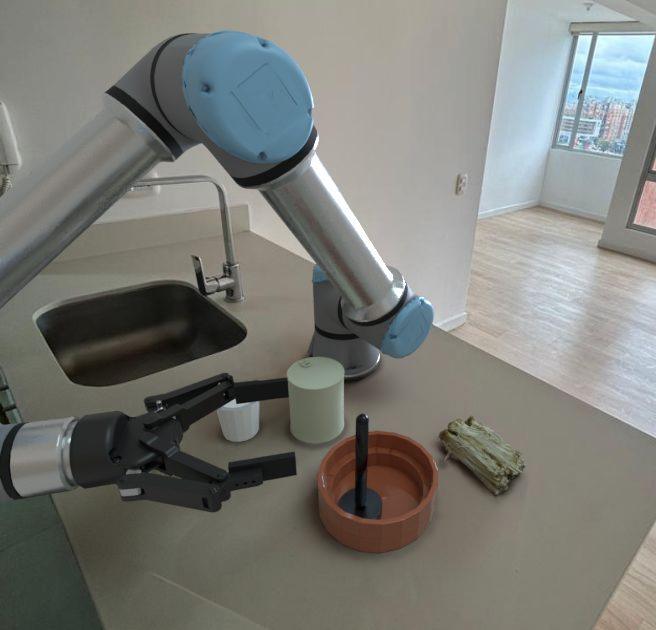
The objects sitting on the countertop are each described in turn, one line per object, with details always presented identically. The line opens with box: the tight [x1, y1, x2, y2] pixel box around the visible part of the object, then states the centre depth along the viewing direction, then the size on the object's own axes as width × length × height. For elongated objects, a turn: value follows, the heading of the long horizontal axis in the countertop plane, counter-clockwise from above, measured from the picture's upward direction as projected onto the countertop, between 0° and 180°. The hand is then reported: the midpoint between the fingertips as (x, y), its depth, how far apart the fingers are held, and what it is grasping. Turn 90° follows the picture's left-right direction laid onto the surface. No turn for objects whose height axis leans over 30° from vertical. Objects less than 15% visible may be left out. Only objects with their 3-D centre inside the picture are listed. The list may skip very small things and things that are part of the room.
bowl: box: [317, 430, 439, 554], centre depth 63 cm, size 16×16×6 cm
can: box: [286, 357, 345, 444], centre depth 74 cm, size 9×9×12 cm
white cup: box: [215, 394, 260, 443], centre depth 73 cm, size 7×7×7 cm
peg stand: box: [338, 413, 382, 520], centre depth 58 cm, size 6×6×17 cm
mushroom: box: [438, 415, 527, 497], centre depth 71 cm, size 14×10×5 cm, turn 42°
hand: (292, 421), depth 53 cm, fingers open, 13 cm apart
